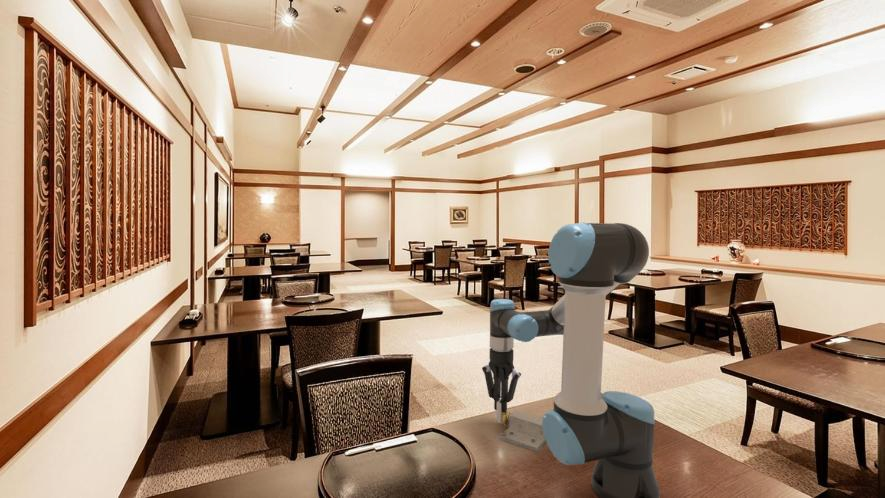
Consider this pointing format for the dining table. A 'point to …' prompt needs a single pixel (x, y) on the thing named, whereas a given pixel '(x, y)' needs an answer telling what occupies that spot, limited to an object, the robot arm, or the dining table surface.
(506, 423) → the pin
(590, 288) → the robot arm
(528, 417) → the grey mounting bracket
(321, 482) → the dining table surface
